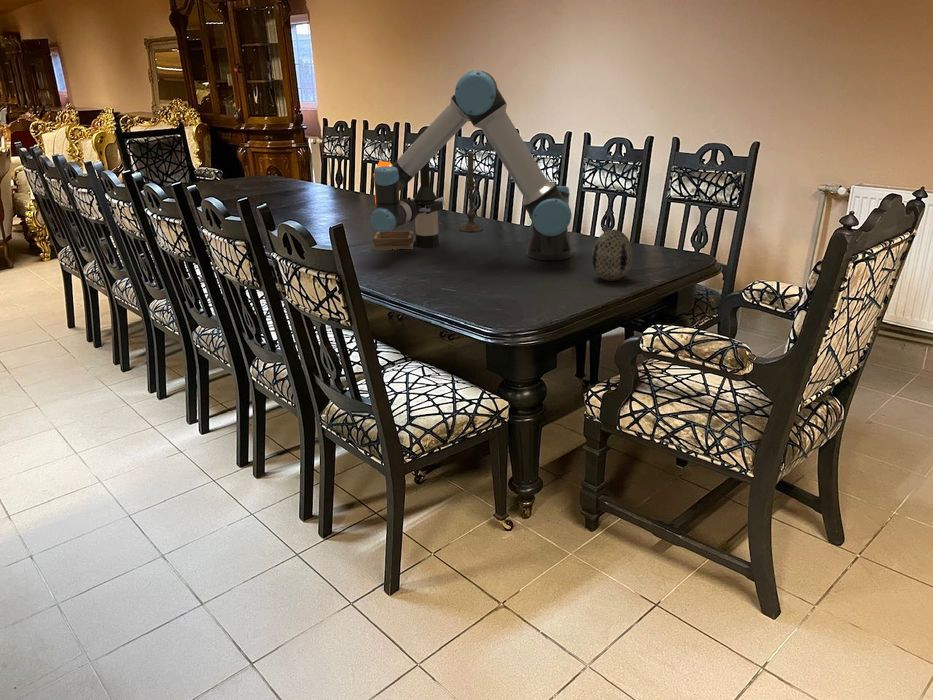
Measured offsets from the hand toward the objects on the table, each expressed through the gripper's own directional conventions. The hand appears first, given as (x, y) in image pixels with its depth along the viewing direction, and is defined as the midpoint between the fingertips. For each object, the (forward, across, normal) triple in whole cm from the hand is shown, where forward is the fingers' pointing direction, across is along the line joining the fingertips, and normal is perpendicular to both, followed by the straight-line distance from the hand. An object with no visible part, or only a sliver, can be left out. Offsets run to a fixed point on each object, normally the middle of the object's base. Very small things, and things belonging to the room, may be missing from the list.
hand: (431, 200), depth 247 cm
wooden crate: (-9, -11, -15) cm, 21 cm away
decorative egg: (-27, +70, -15) cm, 77 cm away
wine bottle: (-5, 0, -15) cm, 16 cm away
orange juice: (+58, -50, -15) cm, 78 cm away
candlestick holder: (+23, +6, -15) cm, 28 cm away
